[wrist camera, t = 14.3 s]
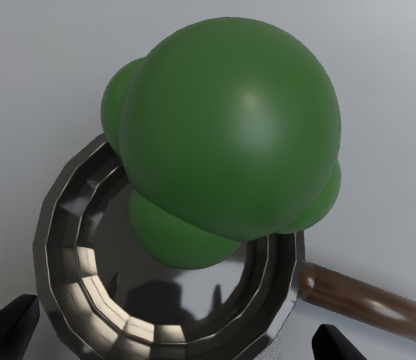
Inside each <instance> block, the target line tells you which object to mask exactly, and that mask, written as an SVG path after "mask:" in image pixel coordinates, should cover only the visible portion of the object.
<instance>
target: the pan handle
mask: <svg viewBox="0 0 416 360" xmlns="http://www.w3.org/2000/svg"><path fill="white" fill-rule="evenodd" d="M298 282H299V287H300V288H299V292H298V296H297V298H298V299H300V300H303V301H306V302H308V303H311V304H314V305H317V306H319V307H322V308H325V309H327V310H330V311H333V312H336V313H338V314H341V315H344V316H347V317H349V318H352V319H355V320H358V321H360V322H363V323H366V324H369V325H371V326H374V327H377V328H380V329H382V330H385V331H388V332H391V333H393V334H396V335H399V336H402V337H404V338H407V339H410V340H413V341H415V342H416V302H414V301H412V300H409V299H406V298H404V297H401V296H398V295H396V294H393V293H390V292H388V291H385V290H382V289H380V288H377V287H374V286H372V285H369V284H366V283H364V282H361V281H358V280H356V279H353V278H350V277H348V276H345V275H342V274H340V273H337V272H334V271H332V270H329V269H326V268H324V267H321V266H318V265H316V264H313V263H310V262H307V261H305V267H304V268H303V270H302V271H301V272H300V274H299V277H298Z"/></svg>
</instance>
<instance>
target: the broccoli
mask: <svg viewBox="0 0 416 360" xmlns="http://www.w3.org/2000/svg"><path fill="white" fill-rule="evenodd" d="M101 122H102V127H103V131H104V133H105V136H106V138H107V140H108V142H109V144H110V146H111V147H112V148H113V150H114V151H115V152H116V153H117V155H118V156H119V157H120V158H122V162H123V166H124V169H125V171H126V174H127V177H128V179H129V181H130V182H131V184H132V189H131V192H130V197H129V218H130V223H131V227H132V229H133V232H134V234H135V236H136V238H137V240H138V242H139V243H140V244H141V246H142V247H143V248H144V249H145V251H146V252H147V253H148V254H149V255H151V256H152V257H153V258H155V259H156V260H158V261H159V262H161V263H163V264H165V265H167V266H170V267H173V268H177V269H183V270H198V269H204V268H208V267H211V266H214V265H216V264H218V263H220V262H222V261H224V260H225V259H227V258H228V257H230V256H231V255H232V254H233V253H234V252H235V251H236V250H237V249H238V248H239V246H240V245H241V244H242V242H243V241H250V240H255V239H258V238H261V237H265V236H267V235H270V234H272V233H275V234H289V233H296V232H299V231H302V230H305V229H307V228H309V227H311V226H313V225H314V224H316V223H317V222H319V221H320V220H321V219H322V218H323V217H325V216H326V214H327V213H328V212H329V211H330V209H331V208H332V207H333V205H334V203H335V201H336V199H337V196H338V193H339V190H340V183H341V170H340V165H339V161H338V158H337V157H338V152H339V148H340V138H341V116H340V110H339V105H338V101H337V97H336V94H335V91H334V87H333V85H332V83H331V81H330V78H329V76H328V75H327V73H326V71H325V70H324V68H323V66H322V65H321V64H320V62H319V61H318V60H317V58H316V57H315V56H314V55H313V54H312V52H311V51H310V50H309V49H308V48H307V47H306V46H305V45H303V44H302V43H301V42H300V41H299V40H298V39H296V38H295V37H293V36H292V35H291V34H289V33H287V32H285V31H284V30H282V29H280V28H278V27H276V26H273V25H271V24H268V23H265V22H262V21H258V20H254V19H247V18H239V17H221V18H213V19H208V20H204V21H201V22H198V23H195V24H192V25H189V26H186V27H184V28H182V29H180V30H178V31H176V32H175V33H173V34H172V35H170V36H169V37H167V38H166V39H164V40H163V41H161V42H160V43H159V44H158V45H157V46H156V47H155V48H153V49H152V50H151V51H150V53H149V54H148V55H147V56H146V57H144V58H140V59H137V60H134V61H132V62H130V63H128V64H127V65H125V66H124V67H123V68H121V69H120V70H119V71H118V72H117V73H116V74H115V75H114V76H113V77H112V79H111V80H110V82H109V84H108V85H107V87H106V89H105V92H104V95H103V99H102V102H101Z"/></svg>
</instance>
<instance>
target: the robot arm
mask: <svg viewBox="0 0 416 360" xmlns="http://www.w3.org/2000/svg"><path fill="white" fill-rule="evenodd" d="M39 317H40V309H39V300H38V297H37V296H36V295H28V294H23V295H20V296H19V297H17V298H16V299H15V300H13V301H12V302H11V303H9V304H8V305H7V306H5V307H4V308H3V309H1V310H0V360H22V359H23V356H24V354H25V351H26V349H27V347H28V344H29V342H30V340H31V337H32V335H33V333H34V330H35V328H36V325H37V323H38V320H39ZM312 349H313V354H314V359H315V360H367V359H366V358H365V357H364V356H363V355H362V354H361V353H360V352H359V351H358V350H357V349H356V348H355V346H354V345H353V344H352V343H351V342H350V341H349V340H348V339H347V338H346V337H345V336H344V335H343V334H342V333H341V332H340V331H339V330H338V329H337V328H336V327H335V326H334V325H329V324H321V325H320V326H319V328H318V330H317V331H316V333H315V335H314V336H313V338H312Z"/></svg>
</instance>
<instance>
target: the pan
mask: <svg viewBox="0 0 416 360" xmlns="http://www.w3.org/2000/svg"><path fill="white" fill-rule="evenodd" d="M131 189H132V184H131V182H130V181H129V179H128V177H127V174H126V171H125V169H124V166H123V162H122V158H120V157H119V156H118V155H117V153H116V152H115V151H114V150H113V148H112V147H111V146H110V144H109V142H108V140H107V138H106V136H105V133H103V134H101V135H99V136H97V137H96V138H95V139H94V140H93V141H92V142H90V143H89V144H88V145H87V146H86V147H85V148H83V149H82V150H81V151H80V152H79V153H78V154H77V155H75V156H74V157H73V158H72V159H71V160H70V161H69V162H68V163H67V164H66V165H65V166H64V168H63V170H62V171H61V173H60V175H59V176H58V178H57V179H56V181H55V183H54V184H53V186H52V188H51V189H50V191H49V192H48V194H47V196H46V197H45V199H44V201H43V204H42V208H41V212H40V217H39V221H38V225H37V229H36V233H35V237H34V241H33V257H34V267H35V277H36V287H37V294H38V298H39V300H40V302H41V304H42V306H43V308H44V310H45V312H46V314H47V316H48V318H49V320H50V322H51V324H52V326H53V328H54V330H55V332H56V334H57V336H58V338H59V339H60V341H61V342H62V343H63V344H64V345H65V346H67V347H68V348H69V349H70V350H71V351H72V352H73V353H74V354H75V355H76V356H77V357H79V358H80V359H81V360H253V359H254V358H255V357H256V356H258V355H259V354H260V353H261V352H262V351H263V350H264V349H266V348H267V347H268V346H269V345H270V344H271V343H272V342H273V341H274V339H275V338H276V336H277V334H278V333H279V331H280V329H281V327H282V326H283V324H284V322H285V321H286V319H287V317H288V316H289V314H290V312H291V311H292V309H293V307H294V305H295V303H296V300H297V296H298V292H299V288H300V287H299V282H298V277H299V274H300V272H301V271H302V270H303V268H304V267H305V244H304V230H302V231H299V232H296V233H289V234H275V233H272V234H270V235H267V236H265V237H261V238H258V239H255V240H250V241H243V242H242V244H241V245H240V246H239V248H238V249H237V250H236V251H235V252H234V253H233V254H232V255H231V256H230V257H228V258H227V259H225V260H224V261H222V262H220V263H218V264H216V265H214V266H211V267H208V268H204V269H198V270H183V269H177V268H173V267H170V266H167V265H165V264H163V263H161V262H159V261H158V260H156V259H155V258H153V257H152V256H151V255H149V254H148V253H147V252H146V251H145V249H144V248H143V247H142V246H141V244H140V243H139V242H138V240H137V238H136V236H135V234H134V232H133V229H132V227H131V223H130V218H129V197H130V192H131Z"/></svg>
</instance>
